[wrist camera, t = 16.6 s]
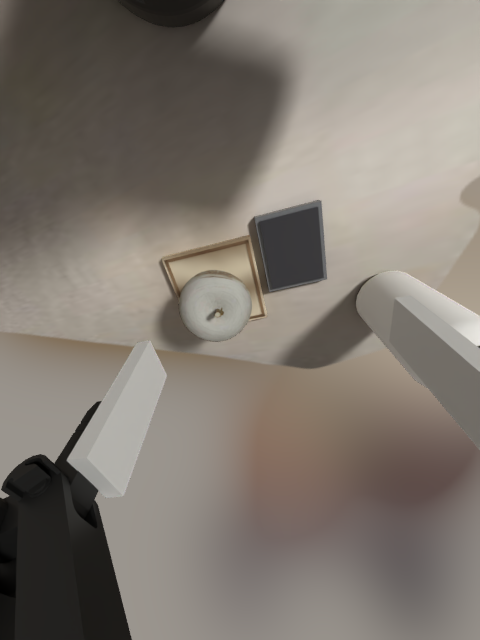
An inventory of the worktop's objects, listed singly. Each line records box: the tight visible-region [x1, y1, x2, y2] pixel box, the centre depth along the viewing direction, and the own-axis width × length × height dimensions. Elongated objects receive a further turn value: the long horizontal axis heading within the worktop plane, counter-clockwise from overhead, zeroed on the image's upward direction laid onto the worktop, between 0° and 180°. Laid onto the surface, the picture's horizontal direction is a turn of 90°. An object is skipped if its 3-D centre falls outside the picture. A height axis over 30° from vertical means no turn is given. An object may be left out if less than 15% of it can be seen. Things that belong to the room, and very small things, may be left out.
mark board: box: [162, 235, 267, 333], centre depth 35 cm, size 12×12×1 cm
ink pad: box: [254, 200, 327, 292], centre depth 32 cm, size 10×8×2 cm
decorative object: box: [178, 270, 252, 342], centre depth 31 cm, size 9×9×10 cm
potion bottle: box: [356, 271, 480, 388], centre depth 29 cm, size 8×8×18 cm
